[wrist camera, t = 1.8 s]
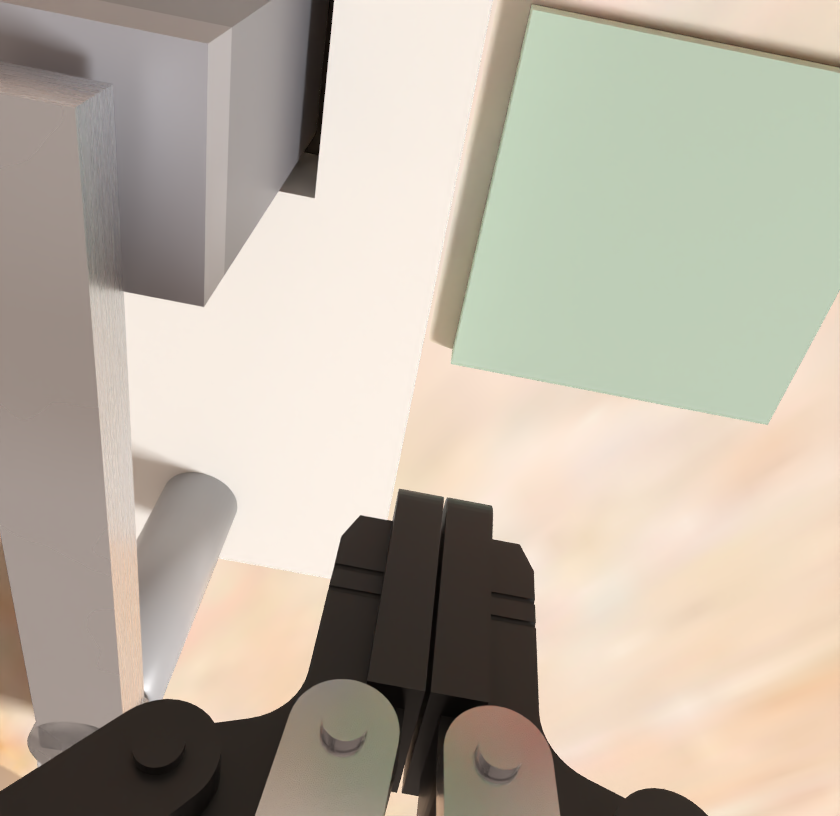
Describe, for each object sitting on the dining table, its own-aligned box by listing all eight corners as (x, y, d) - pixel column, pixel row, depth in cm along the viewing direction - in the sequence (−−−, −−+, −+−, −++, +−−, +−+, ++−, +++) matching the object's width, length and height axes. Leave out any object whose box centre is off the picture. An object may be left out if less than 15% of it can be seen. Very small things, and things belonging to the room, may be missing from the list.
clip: (158, 748, 20) (140, 793, 19) (56, 729, 20) (34, 774, 19) (135, 88, 11) (99, 112, 10) (-57, 49, 11) (-111, 70, 10)
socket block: (-23, -270, 17) (-517, -373, 9) (521, -154, 18) (536, -149, 9) (63, 466, 30) (-113, 714, 21) (384, 525, 30) (337, 793, 21)
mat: (531, 4, 19) (532, 9, 19) (929, 86, 20) (944, 94, 19) (452, 350, 25) (451, 363, 25) (760, 410, 26) (767, 424, 25)
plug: (159, -78, 19) (-95, -18, 11) (333, -43, 19) (208, 43, 11) (162, 101, 22) (-44, 259, 13) (316, 132, 22) (204, 307, 14)
